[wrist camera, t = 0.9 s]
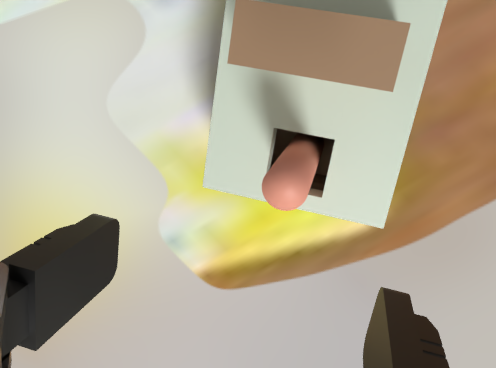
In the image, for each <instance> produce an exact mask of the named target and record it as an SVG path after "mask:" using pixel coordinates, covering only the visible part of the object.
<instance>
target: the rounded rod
mask: <svg viewBox="0 0 496 368" xmlns="http://www.w3.org/2000/svg"><path fill="white" fill-rule="evenodd" d="M323 148H324V139H323V137H319V136H314V135H308V134H303V133H297V134H296V135H295V137H294V138H293V139H292V140H291V142H290V143H289V144H288V146H287V147H286V148H285V150H284V151H283V152H282V154H281V155H280V156H279V158H278V159H277V160H276V162H275V163H274V164H273V165H272V167H271V168H270V169H269V171H268V172H267V173H266V175H265V176H264V178H263V181H262V193H263V196H264V198H265V199H266V201H267V202H268V203H269V204H270V205H271V206H273V207H274V208H276V209H279V210H285V211H288V210H293V209H296V208H298V207H299V206H301V205H302V204H303V203H304V202H305V200H306V198H307V196H308V193H309V190H310V187H311V184H312V181H313V178H314V175H315V172H316V169H317V166H318V163H319V160H320V157H321V154H322V151H323Z"/></svg>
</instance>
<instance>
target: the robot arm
mask: <svg viewBox="0 0 496 368" xmlns="http://www.w3.org/2000/svg"><path fill="white" fill-rule="evenodd" d="M118 245H119V222H118V220H117V219H113V218H109V217H105V216H102V215H98V214H92V215H90V216H88V217H87V218H85V219H83V220H81V221H80V222H78V223H76V224H75V225H70V226H66V227H63V228H59V229H56V230H54V231H53V232H51V233H49V234H48V235H46V236H44V238H40V239H39V240H37V241H35V242H34V244H30V245H28V246H27V247H25V248H23V249H21V250H20V251H18V252H16V253H14V254H13V255H11V256H9V257H8V258H6V259H4V260H2V261H1V262H0V368H11V361H12V359H11V350H12V349H14V347H16V346H17V345H19V346H22V347H25V348H28V349H31V350H34V351H36V350H37V349H39V348H40V347H41V346H42V345H43V344H44V343H45V342H46V341H47V340H48V339H49V338H51V337H52V336H53V335H54V334H55V333H56V332H57V331H58V330H59V329H60V328H61V327H63V326H64V325H65V324H66V323H67V322H68V321H69V320H70V319H71V318H72V317H73V316H74V315H76V314H77V313H78V312H79V311H80V310H81V309H82V308H83V307H84V306H85V305H86V304H87V303H89V302H90V301H91V300H92V299H93V298H94V297H95V296H96V295H97V294H98V293H99V292H101V291H102V289H104V288H105V287H106V286H107V285H108V284H109V283H110V281H111V280H112V279H113V277H114V275H115V272H116V269H117V261H118ZM363 368H449V365H448V362H447V360H446V355H445V352H444V349H443V347H442V342H441V339H440V336H439V333H438V330H437V329H436V328H435V327H434V326H433V324H432V323H431V322H430V321H429V320H428V319H427V317H424V316H420V315H416V314H414V312H413V307H412V303H411V299H410V295H409V294H406V293H403V292H399V291H395V290H391V289H387V288H383V287H381V288H380V290H379V293H378V296H377V299H376V303H375V306H374V309H373V313H372V316H371V320H370V323H369V327H368V330H367V334H366V338H365V343H364V350H363Z"/></svg>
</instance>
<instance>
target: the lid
mask: <svg viewBox="0 0 496 368" xmlns="http://www.w3.org/2000/svg"><path fill="white" fill-rule="evenodd" d="M446 3H447V0H226V6H225V14H224V21H223V29H222V37H221V45H220V53H219V61H218V69H217V77H216V85H215V93H214V101H213V109H212V117H211V125H210V133H209V140H208V148H207V156H206V164H205V172H204V180H203V187H204V188H209V189H213V190H217V191H222V192H226V193H231V194H235V195H239V196H244V197H248V198H252V199H257V200H261V201H265V202H267V201H266V199H265V198H264V196H263V193H262V181H263V178H264V176H265V175H266V173H267V172H268V171H269V169H270V167H271V161H272V155H273V150H274V144H275V138H276V133H277V128H278V129H283V130H288V131H293V132H298V133H303V134H308V135H314V136H319V137H324V138H329V139H334V140H335V142H334V146H333V151H332V155H331V160H330V164H329V169H328V173H327V177H326V182H325V186H324V191H322V190H317V189H312V188H310V190H309V193H308V196H307V198H306V200H305V202H304V203H303V204H302V205H301V206H299V207H298V208H296V209H300V210H305V211H309V212H313V213H318V214H322V215H326V216H331V217H335V218H339V219H344V220H348V221H352V222H357V223H361V224H365V225H370V226H374V227H378V228H384V224H385V221H386V217H387V214H388V210H389V207H390V203H391V199H392V196H393V192H394V189H395V185H396V182H397V178H398V174H399V171H400V167H401V164H402V160H403V157H404V153H405V149H406V146H407V142H408V139H409V135H410V132H411V128H412V124H413V121H414V117H415V114H416V110H417V107H418V103H419V99H420V96H421V92H422V89H423V85H424V82H425V78H426V74H427V71H428V67H429V64H430V60H431V57H432V53H433V49H434V46H435V42H436V39H437V35H438V32H439V28H440V24H441V21H442V17H443V14H444V10H445V7H446Z"/></svg>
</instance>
